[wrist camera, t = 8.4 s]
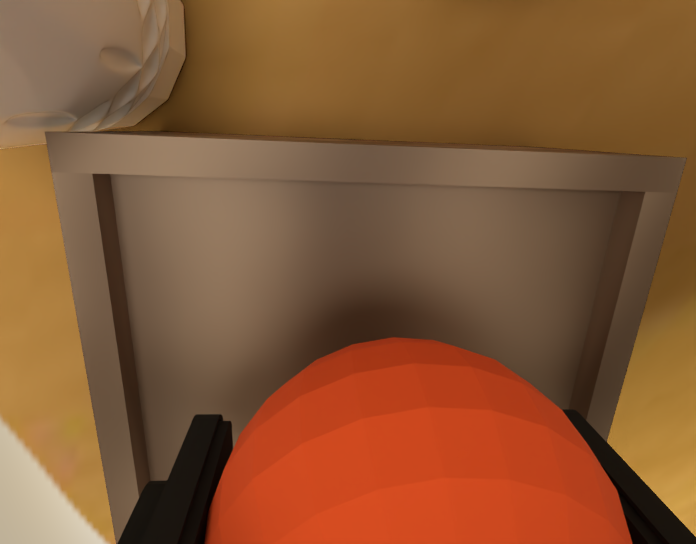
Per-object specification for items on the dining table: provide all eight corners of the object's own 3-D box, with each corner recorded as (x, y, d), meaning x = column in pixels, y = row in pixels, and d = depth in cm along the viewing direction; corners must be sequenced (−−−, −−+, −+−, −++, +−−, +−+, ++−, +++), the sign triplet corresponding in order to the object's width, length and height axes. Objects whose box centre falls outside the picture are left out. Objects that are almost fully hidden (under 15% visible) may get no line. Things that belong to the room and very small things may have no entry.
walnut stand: (538, 147, 16) (686, 158, 10) (485, 446, 21) (564, 590, 14) (159, 131, 15) (44, 131, 9) (189, 454, 19) (128, 614, 13)
